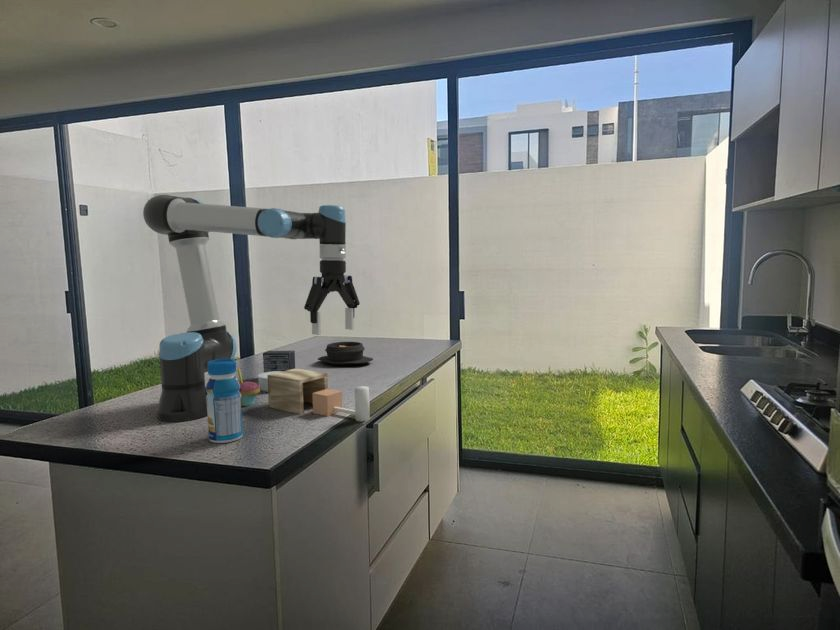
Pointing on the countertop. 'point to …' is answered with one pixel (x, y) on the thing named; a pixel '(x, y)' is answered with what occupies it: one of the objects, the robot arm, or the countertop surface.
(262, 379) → the ramekin
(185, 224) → the robot arm
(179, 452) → the countertop surface
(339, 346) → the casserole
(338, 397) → the tethered block
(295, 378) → the shelf slot
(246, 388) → the cupcake
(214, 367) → the beverage bottle
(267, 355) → the small box
